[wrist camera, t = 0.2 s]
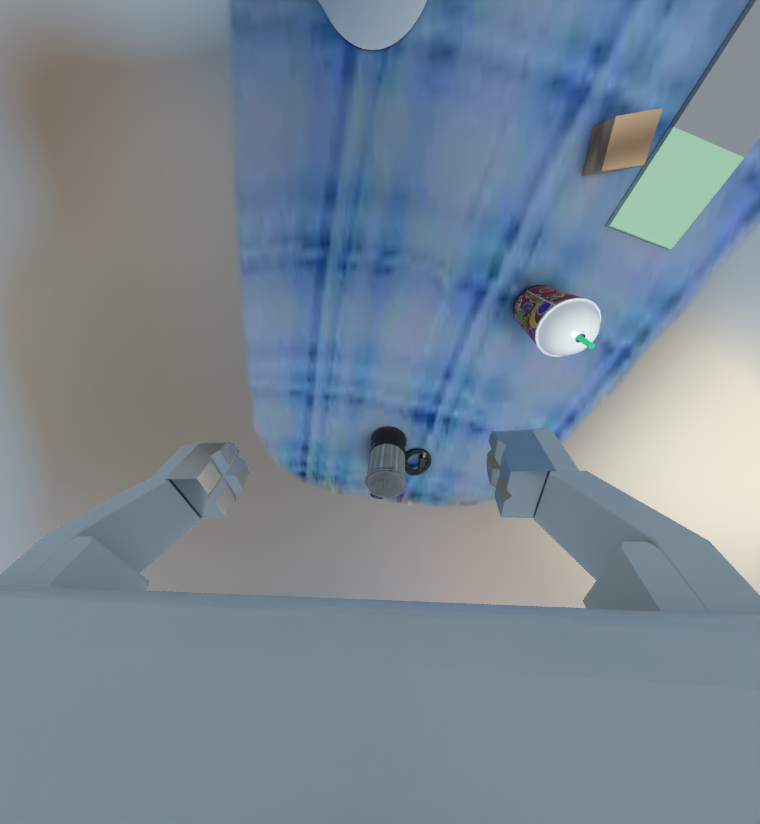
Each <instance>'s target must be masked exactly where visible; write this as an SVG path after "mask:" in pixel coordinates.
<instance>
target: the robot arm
mask: <svg viewBox="0 0 760 824" xmlns="http://www.w3.org/2000/svg"><path fill="white" fill-rule="evenodd" d="M317 1H318V2H319V3H320V5H321V6H322V8H323V10H324V11H325V13H326V15H327V17H328V18H329V20H330V22H331V23H332V25H333V26H334V27H335V29H336V30H337V31H338V32H339V33H340V34H341V35H342V36H343V37H344V38H345V39H346V40H347V41H348V42H350V43H351V44H353V45H355V46H357V47H359V48H362V49H367V50H379V49H383V48H386V47H389V46H391V45H393V44H394V43H396V42H398V41H399V40H400V39H401V38H402V37H404V36H405V35H406V34H407V33H408V31H409V30H410V29H411V28H412V27H413V25H414V24H415V22H416V21H417V19H418V18H419V16H420V14H421V12H422V10H423V9H424V6H425V4H426V2H427V0H317ZM489 443H490V446H491V450H490V451H489V452H488V454H487V472H488V477H489V481H490V484H491V485H492V486H493V487H495V488H496V491H495V500H496V503H497V506H498V509H499V512H500V515H501V517H517V518H534V520H535V521H536V522H537V523H538V524H539V525H540V526H541V527H542V528H543V529H544V530H545V531H546V532H547V533H548V534H549V535H550V536H551V537H552V538H553V539H555V541H556V542H557V543H559V544H560V545H561V546H562V547H563V548H564V549H565V550H566V551H567V552H568V553H569V554H570V555H571V556H572V557H573V558H574V559H575V560H576V561H577V562H578V563H579V564H580V565H581V566H582V567H583V568H584V569H585V570H586V571H587V572H588V573H589V574H590V575H591V576H593V577H594V578H595V579H596V580H597V581H596V582H595V584H594V585H593V587H592V588H591V589H590V591H589V592H588V594H587V595H586V597H585V598H584V600H583V602H584V604H585V606H586V608H566V607H541V606H540V607H539V606H516V605H491V604H489V605H488V604H466V603H441V602H439V603H438V602H416V601H392V600H367V599H341V598H340V599H339V598H317V597H292V596H267V595H242V594H241V595H240V594H216V593H192V592H167V591H145V590H146V588H147V587H148V586H149V580H147V579H146V578H145V577H143V576H142V575H141V574H140V572H141V571H142V570H143V569H145V568H146V567H147V566H148V565H149V564H150V563H151V562H153V561H154V560H155V559H156V558H157V557H158V556H160V555H161V554H162V553H163V552H164V551H165V550H167V549H168V548H169V547H170V546H171V545H172V544H173V543H175V542H176V541H177V540H178V539H179V538H180V537H182V536H183V535H184V534H185V533H186V532H187V531H188V530H190V529H191V528H192V527H193V526H194V525H195V524H197V523H198V522H199V521H200V520H201V519H200V518H222V517H223V518H224V517H226V516H227V514H228V513H229V511H230V509H231V508H232V506H233V504H234V503H235V501H236V495H235V494H236V493H238V492H239V491H240V490H242V489H243V488H244V486H245V484H246V482H247V480H248V474H249V471H248V466H247V464H246V462H245V461H244V460H243V459H241V458H240V457H238V453H239V450H238V449H237V447H236V446H235V444H234V443H230V442H218V443H217V442H214V443H189V444H186V445H183V446H182V447H181V448H180V449H179V450H178V451H177V452H176V453H175V454H174V455H173V456H172V457H171V458H170V459H169V460H168V461H167V462H166V463H165V464H164V465H163V466H162V467H161V469H159V470H158V471H157V472H156V473H155V474H154V475H153V476H152V477H151V478H150V479H149V480H147V481H142V482H141V483H139V484H137V485H135V486H133V487H132V488H130V489H128V490H126V491H124V492H122V493H121V494H119V495H117V496H115V497H114V498H112V499H110V500H108V501H106V502H104V503H103V504H101V505H99V506H97V507H95V508H93V509H92V510H90V511H88V512H86V513H85V514H83V515H81V516H79V517H77V518H75V519H74V520H72V521H70V522H68V523H66V524H64V525H62V526H61V527H59V528H57V529H55V530H53V531H52V532H50V533H48V534H46V535H45V536H44V537H43V538H42V539H40V540H39V541H38V542H37V543H36V544H35V545H34V546H33V547H32V548H30V549H29V550H28V551H27V552H26V553H25V554H24V555H22V556H21V557H20V558H19V559H18V560H17V561H15V562H14V563H13V564H12V565H11V566H10V567H9V568H8V569H7V570H5V571H4V572H3V573H2V574H1V575H0V824H760V595H759V594H758V593H757V592H756V591H755V590H754V589H753V588H752V587H751V586H750V585H749V583H748V582H747V581H746V580H745V579H744V578H743V577H742V576H741V575H740V574H739V573H738V572H737V571H736V570H735V568H734V567H733V566H732V565H731V564H730V563H729V562H728V561H727V560H726V559H725V558H724V557H723V556H722V554H720V552H719V551H718V550H717V549H716V548H715V547H714V546H713V545H712V544H711V543H710V542H709V541H708V540H706V539H704V538H703V537H701V536H699V535H698V534H696V533H694V532H692V531H691V530H688V529H687V528H685V527H683V526H682V525H680V524H678V523H677V522H675V521H673V520H671V519H670V518H668V517H666V516H664V515H663V514H661V513H659V512H657V511H656V510H654V509H652V508H650V507H649V506H647V505H645V504H643V503H642V502H640V501H638V500H636V499H635V498H633V497H631V496H629V495H627V494H626V493H624V492H622V491H621V490H619V489H617V488H615V487H614V486H612V485H610V484H608V483H606V482H605V481H603V480H601V479H599V478H598V477H596V476H594V475H593V474H591V473H589V472H587V471H580V470H579V469H578V468H577V466H576V465H575V463H574V462H573V461H572V459H571V458H570V456H569V455H568V453H567V452H566V450H565V449H564V447H563V446H562V445H561V443H560V442H559V440H558V439H557V437H556V436H555V434H554V433H553V432H552V430H550V429H549V428H541V429H529V430H511V431H492V432H491V435H490V440H489Z"/></svg>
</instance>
